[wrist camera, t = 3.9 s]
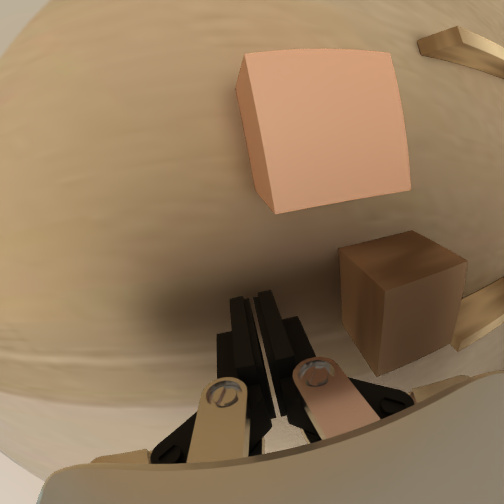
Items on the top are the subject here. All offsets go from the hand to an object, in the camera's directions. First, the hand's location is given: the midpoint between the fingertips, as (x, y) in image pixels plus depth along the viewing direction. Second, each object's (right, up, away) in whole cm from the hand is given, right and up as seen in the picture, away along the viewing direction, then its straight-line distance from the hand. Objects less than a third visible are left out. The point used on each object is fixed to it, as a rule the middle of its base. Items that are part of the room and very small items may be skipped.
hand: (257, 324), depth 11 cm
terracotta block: (+2, +7, -1) cm, 8 cm away
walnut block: (+6, +2, +1) cm, 6 cm away
